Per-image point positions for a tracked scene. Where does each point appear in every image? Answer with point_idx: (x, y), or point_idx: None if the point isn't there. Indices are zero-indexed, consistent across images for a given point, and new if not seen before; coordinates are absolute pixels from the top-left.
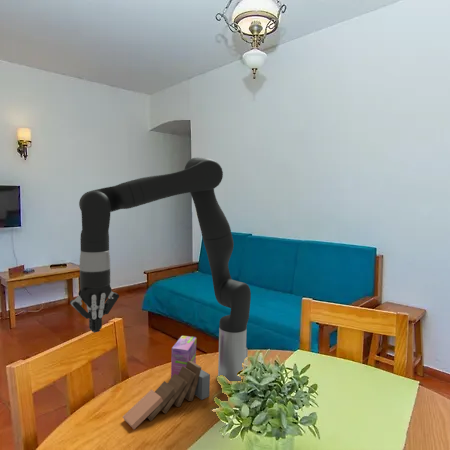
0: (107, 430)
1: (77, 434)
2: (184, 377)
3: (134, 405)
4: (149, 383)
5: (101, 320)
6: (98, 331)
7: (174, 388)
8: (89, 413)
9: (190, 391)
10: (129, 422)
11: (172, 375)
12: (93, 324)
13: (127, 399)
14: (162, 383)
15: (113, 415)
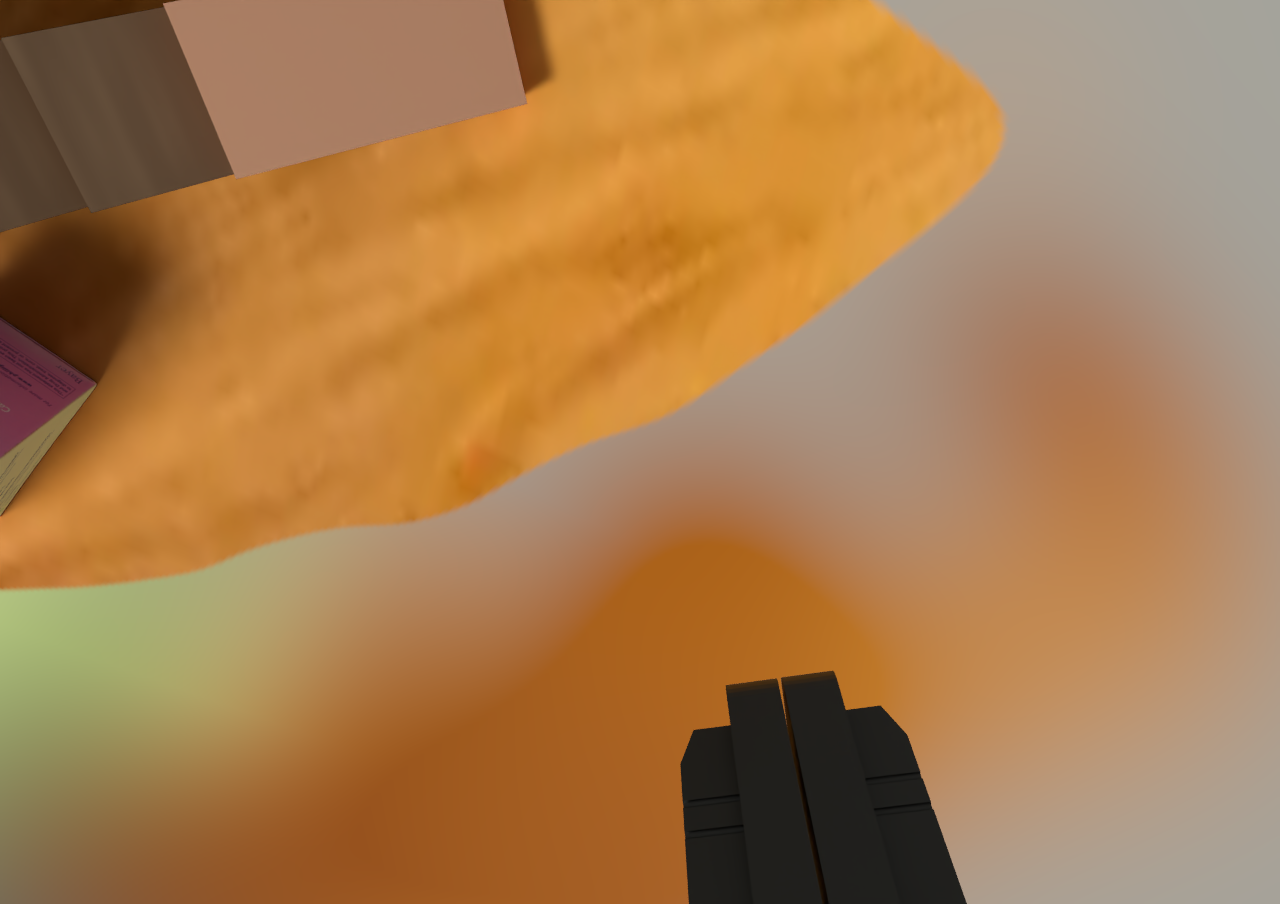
0: (651, 53)
1: (835, 123)
2: None
3: (418, 130)
4: (259, 436)
5: (697, 897)
6: (750, 682)
7: (18, 93)
8: (705, 307)
9: None
10: None
11: (55, 399)
12: (886, 827)
13: (441, 333)
14: (119, 202)
15: (571, 204)
